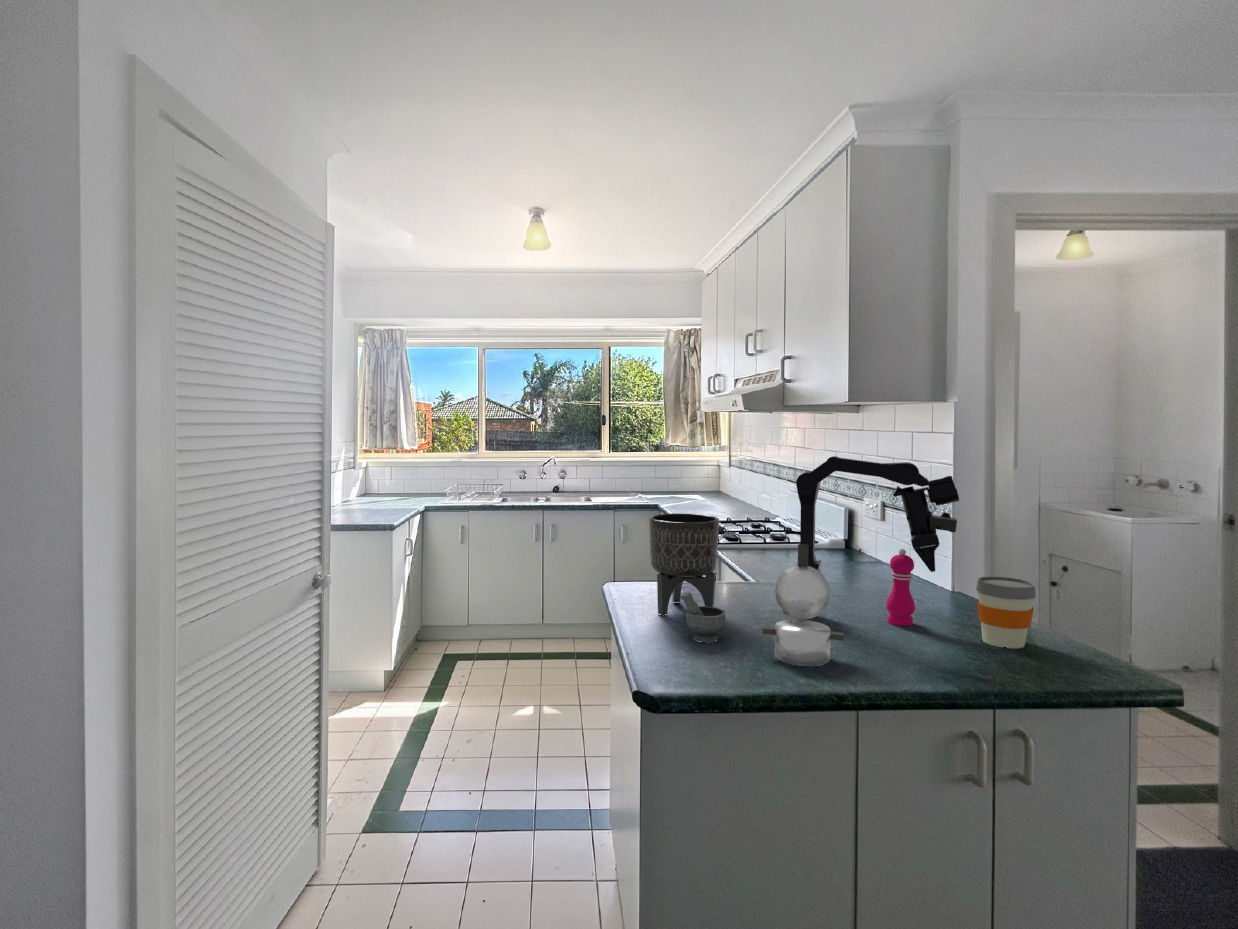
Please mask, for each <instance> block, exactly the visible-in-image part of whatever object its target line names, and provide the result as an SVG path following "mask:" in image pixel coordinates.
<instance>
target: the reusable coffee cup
mask: <svg viewBox="0 0 1238 929" xmlns="http://www.w3.org/2000/svg"><path fill="white" fill-rule="evenodd" d="M975 590H976V592H977V598H978V600H976V606H977V616H978V620H979V622H980V627H981V636H982V638H981V639H982V641H983V642H984V643H986V644H987V643H988V644H989V645H990V646H994V647H999V648H1003V647H1006V648H1005V649H1022V648H1024V647H1025V645H1026V641H1027V636H1028V631H1029V629H1030V628H1031V625H1032V620H1033V615H1034V610H1035V608H1034V607H1033V605H1034V599H1036V596H1037V594H1036V585H1035V583H1034V582H1031V581H1028V580H1024V579H1021V578H1015V577H1008V576H995V575H994V576H993V575H992V576H990V575H989V576H988V575H986V576H980V577H978V578H977V582H976V589H975Z"/></svg>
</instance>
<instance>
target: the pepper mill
mask: <svg viewBox="0 0 1238 929" xmlns="http://www.w3.org/2000/svg"><path fill="white" fill-rule="evenodd" d="M889 566H890V569H891V570H892V572H891V578H892V580H893V582H892V583H893V584H892V589H891V591H890V592H889V593H890V594H889V595H888V597H887V599H886V603H885V608H886V610H887V611H888V614H887V618H886V619H887V623H888V624H890V625H893V626H898V627H899V626H900V627H910V626H912V625H913V624H914V618H913V617H912V615H913V614H914V613H915V611H916V605H915V604H916V603H915V600H914V599H913V596H912V594H911V591H910V589H911V588H910V583H911V580H912V576H913V574H912V571H913V570H914V569H915V562H914V559H913V558H912V557H911V556H910V555H907V551H906V549H904V548H901V549H899V550H898V554H895V555H893V556H891V558H890V561H889Z"/></svg>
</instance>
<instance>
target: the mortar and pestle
mask: <svg viewBox="0 0 1238 929" xmlns="http://www.w3.org/2000/svg"><path fill="white" fill-rule="evenodd" d="M680 600H682V601H683V602H684V605H685V607H686V609H685V610H686V612H685V613H686V614H685V620H686V625H687V627H688V629H689V630H690V631H691V633H693V634H692V640H693V639H695V640H698V641H702V642H714V641H715V640H717V641H718V634H719V633H721V631H722V630H723V629H724V627H725V623H726V622H725V621H726V611H725V610H724V609H721V608H719V607H716V606H714V607H708V606H705V605H702V606H699V605H698V604H697V602H696V600H695V598H693V594H692V592H691V591H689V590H688V591H684V592H682V593H681V598H680ZM714 643H715V642H714Z"/></svg>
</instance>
